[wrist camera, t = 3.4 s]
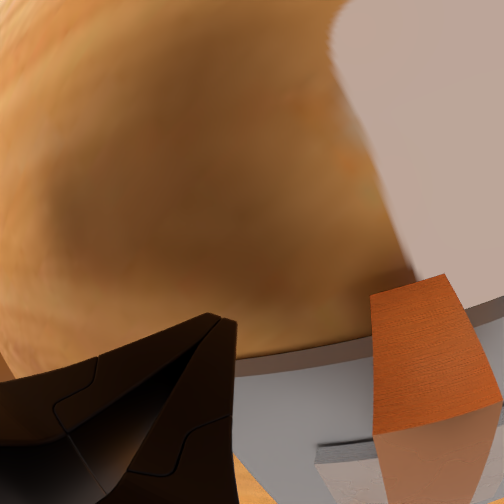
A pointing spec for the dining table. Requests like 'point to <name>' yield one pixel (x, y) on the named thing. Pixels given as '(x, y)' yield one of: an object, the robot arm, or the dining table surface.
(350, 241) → the dining table surface
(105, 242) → the dining table surface
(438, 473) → the flange plate
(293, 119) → the dining table surface
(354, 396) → the slate board
